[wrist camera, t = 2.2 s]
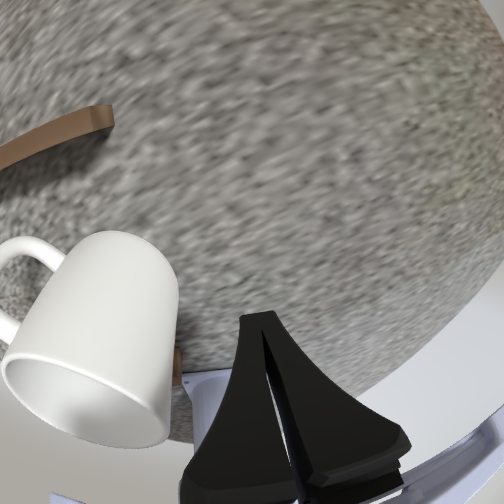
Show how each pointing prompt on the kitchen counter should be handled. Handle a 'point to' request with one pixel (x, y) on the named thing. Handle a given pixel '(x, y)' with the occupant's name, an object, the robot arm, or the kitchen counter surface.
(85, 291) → the cup
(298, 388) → the robot arm
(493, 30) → the kitchen counter surface
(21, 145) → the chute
